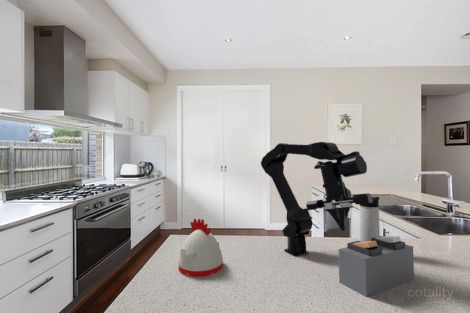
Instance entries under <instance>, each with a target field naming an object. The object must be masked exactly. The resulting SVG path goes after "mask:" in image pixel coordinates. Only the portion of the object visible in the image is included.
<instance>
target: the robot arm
mask: <svg viewBox="0 0 470 313" xmlns="http://www.w3.org/2000/svg"><path fill="white" fill-rule="evenodd" d="M288 155H303V156H309V157H310V158H313V159H316V160H319V161H317V163H316V165H314V167H313V168H314V169H315V170H320V172H321V178H322V182H323V184H322V188H323V189H324V191H325V196H326V197H325V200H323V199H316V200H310V201H307V202H306V203H305V204H306V205H305V206H306V208H303V207H301V206H300V205H299V203H298V200H297V198H296V197H295V195H294V192H293V190H292V188H291V187H290V184H289V182H288V180H287V177H286V176H285V174H284V169H285V166H284V163H285V161H287V157H288ZM322 160H323V161H322ZM326 160H327V161H326ZM333 161H334V162H333ZM335 161H336V162H335ZM260 165H261V168H262V170H263V171H264V172H265V174H266V175H268V176H269V177H270V178H271V179H272V181H273V183H274V185H275V188H276V190H277V192H278V194H279V197H280V199H281V201H282V203H283V206H284V208H285V210H286V218H285V219H286V222H287V224H286V225H285V226H284V228H283V229H282V230H281V231H282V234H283V236H284V237H286V238H287V248H284V252H285V253H288V254H290V255H291V256H294V257H299V256H303V255H306V254H307V255H308V254H310V251H309V250H307V241H306V235H307V236H308V235H309V234H310V231H311V229H312V228H313V220H312V219H313V217H312V216H311V214H310V212H309V211H313V210H318V209H323V208H325V209H324V212H327V213H329V215H330V216H331V217H332V218H333V220H334V221H335V223H336V224H337V225H338V227H339V228H340V231H342V232H345V231H347V223H348V216H349V211H351V210H350V209H352V208H354V206H353V204H355V205H360V204H367V203H371V202H373V199H372V197H373V196H372V194H371V193H369V192H367V193H359V194H353V195H352V192H351V190H350V189H349V188H348V187H346V184H345V181H343V178H349V177H354V176H359V175H364V174H366V173H367V170H368V164H367V162H366V161H365V159H364V158H363V156H362V155H361V153H360V151H357V150H356V151H352V152H349V153H346V154H345V153H343V152H342V151H341V150H339V147H338V146H337V144H336V143H334V142H327V141H318V142H313V143H309V144H296V143H295V144H294V143H278V144H276V146H274V148H272V149H271V150H269V151H268V152H267V153H266V154H265V155H264V156H263V157H262V159H261V162H260ZM342 176H343V177H342ZM339 206H340V207H339Z"/></svg>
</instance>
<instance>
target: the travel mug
mask: <svg viewBox="0 0 470 313" xmlns="http://www.w3.org/2000/svg"><path fill="white" fill-rule="evenodd" d="M372 199H373V202H371V203H367V204H358V205H359V206H358V207H359V241H361V242H367V241H371V238H373V237H378V236H381V234H380V206H379V200H380V197H379V196H375V197H374V196H372Z"/></svg>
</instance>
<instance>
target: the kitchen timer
mask: <svg viewBox="0 0 470 313" xmlns="http://www.w3.org/2000/svg"><path fill="white" fill-rule="evenodd" d="M189 224H190V226H191V229H192V233H189V235H188V237H187V238H186V239H185V241H184V243H183V244H182V247H181V249H180V251H179V252H180V253H179V257H178V271H179V272H180V273H181V274H182V275H183V276H187V277H193V278H195V277H196V278H197V277H198V278H200V277H201V278H203V277H208V276H212V275H214V274H217V273H219V272H221V270H223V266H224V260H223V254H222V251H221V250H222V249H221V248H220V242H219V241H217V238H215V236H214V235H213V234H212V233H211V230H212V227H209V228H208V223H205V219H201V218H198V219H197V218H193V221H190V223H189Z"/></svg>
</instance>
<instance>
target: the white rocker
mask: <svg viewBox="0 0 470 313" xmlns="http://www.w3.org/2000/svg"><path fill="white" fill-rule="evenodd" d="M380 236H381V237H376V238H375V239H378V240H382V241H385V242H388V243H395V242H399V241H401V238H400V236H387V235H385V236H383V235H380Z"/></svg>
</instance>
